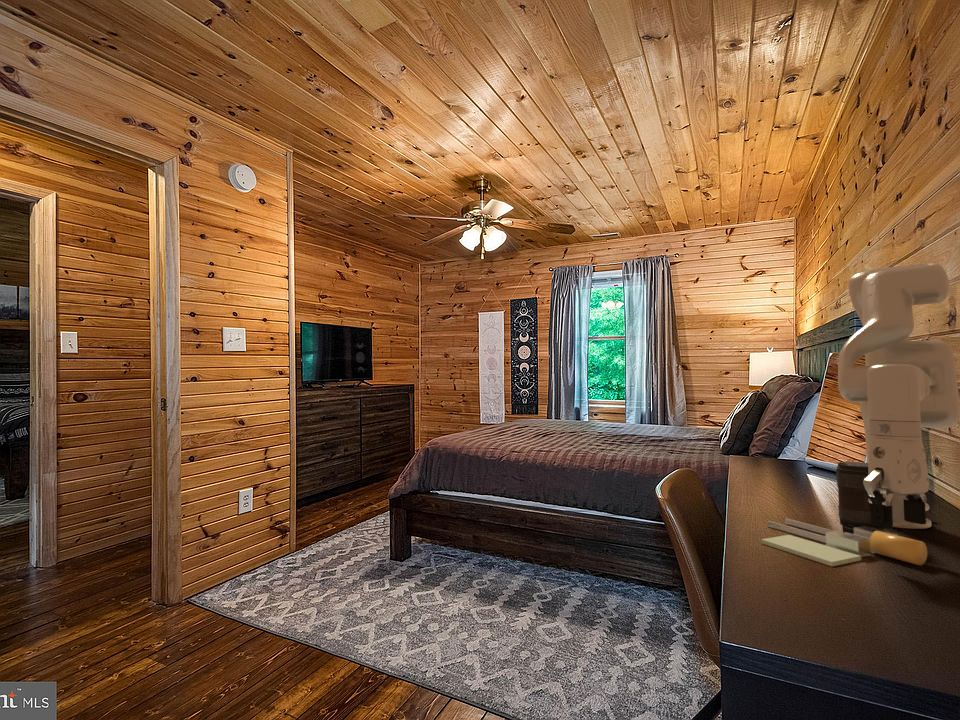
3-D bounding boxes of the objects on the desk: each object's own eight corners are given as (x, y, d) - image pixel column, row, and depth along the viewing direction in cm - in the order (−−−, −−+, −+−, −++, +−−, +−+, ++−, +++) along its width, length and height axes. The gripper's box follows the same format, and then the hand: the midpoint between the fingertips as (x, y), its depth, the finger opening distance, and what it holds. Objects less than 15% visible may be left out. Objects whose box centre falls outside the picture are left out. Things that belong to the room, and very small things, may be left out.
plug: (850, 542, 102) (849, 521, 102) (927, 563, 90) (926, 539, 90) (837, 545, 100) (836, 524, 100) (914, 567, 88) (912, 542, 88)
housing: (795, 522, 117) (795, 509, 117) (898, 549, 97) (897, 533, 98) (758, 527, 112) (758, 514, 113) (858, 557, 93) (858, 541, 93)
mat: (789, 538, 105) (788, 534, 105) (861, 560, 92) (861, 555, 92) (761, 543, 102) (761, 539, 102) (832, 566, 89) (831, 561, 89)
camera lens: (879, 531, 109) (876, 462, 110) (891, 542, 102) (888, 467, 103) (835, 527, 113) (832, 460, 113) (843, 537, 105) (840, 465, 106)
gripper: (888, 432, 86) (892, 534, 85) (946, 431, 93) (951, 526, 91) (842, 429, 93) (846, 523, 92) (899, 428, 99) (904, 516, 98)
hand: (898, 524), depth 92 cm, fingers open, 9 cm apart
